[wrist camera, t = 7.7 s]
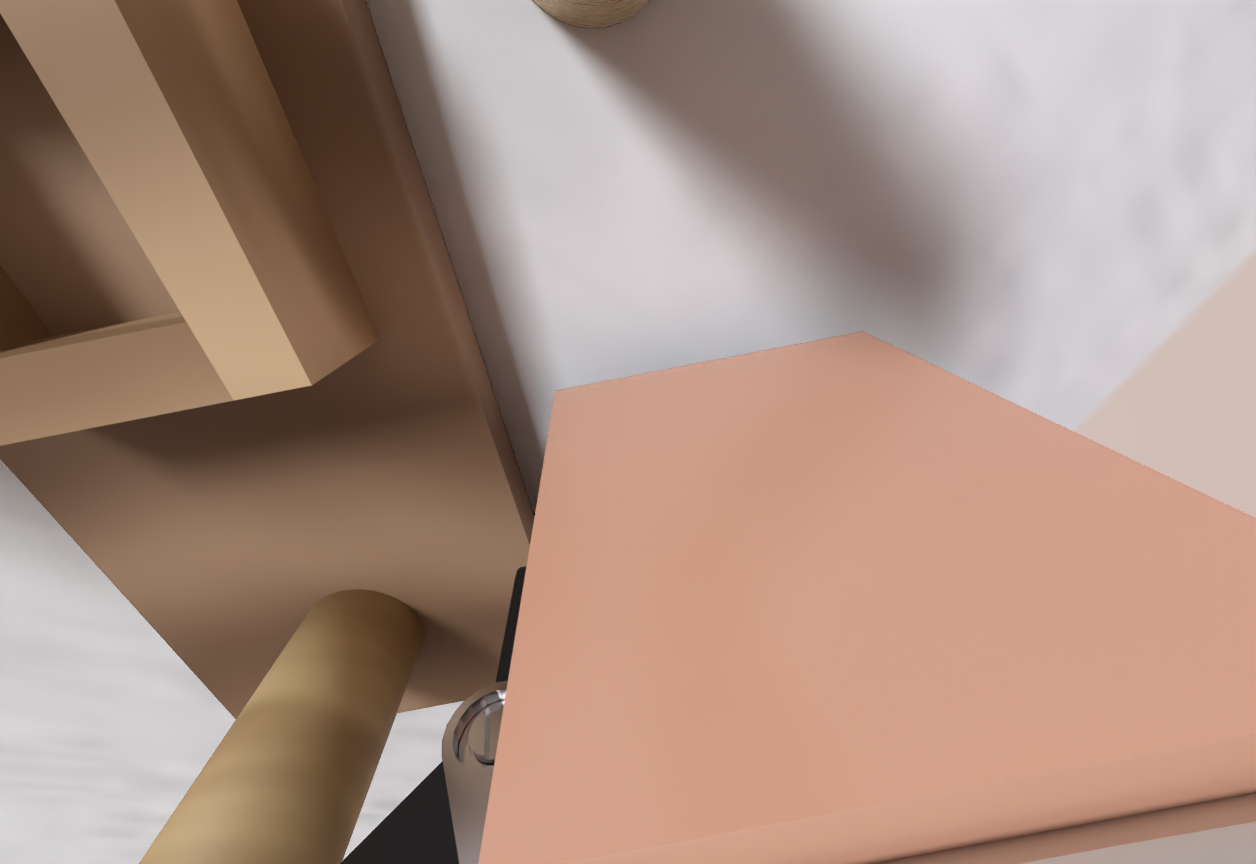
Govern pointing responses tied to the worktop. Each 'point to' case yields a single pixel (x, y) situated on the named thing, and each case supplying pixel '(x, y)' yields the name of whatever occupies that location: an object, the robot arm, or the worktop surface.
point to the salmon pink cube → (858, 622)
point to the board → (252, 387)
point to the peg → (592, 11)
